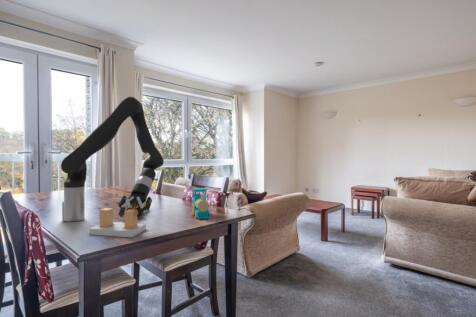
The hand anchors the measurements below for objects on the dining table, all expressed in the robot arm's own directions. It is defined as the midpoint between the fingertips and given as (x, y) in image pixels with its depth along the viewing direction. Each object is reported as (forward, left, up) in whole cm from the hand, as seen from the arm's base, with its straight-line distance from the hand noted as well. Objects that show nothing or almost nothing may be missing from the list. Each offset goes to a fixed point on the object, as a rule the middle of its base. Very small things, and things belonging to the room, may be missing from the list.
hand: (129, 216), depth 121 cm
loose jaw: (0, +1, -7) cm, 8 cm away
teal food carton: (+22, +38, -8) cm, 44 cm away
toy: (-19, +37, -8) cm, 43 cm away
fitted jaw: (-12, +1, -7) cm, 14 cm away
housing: (-6, +1, -7) cm, 10 cm away
